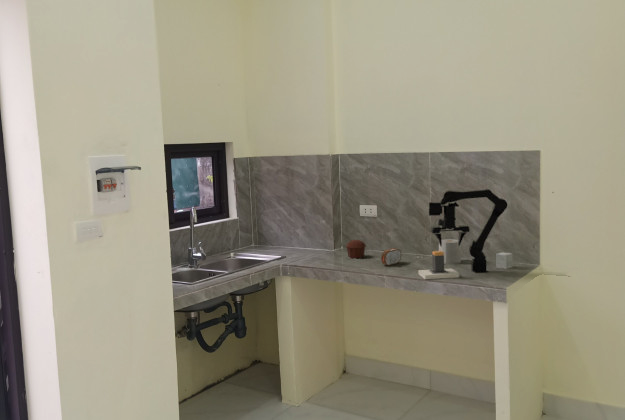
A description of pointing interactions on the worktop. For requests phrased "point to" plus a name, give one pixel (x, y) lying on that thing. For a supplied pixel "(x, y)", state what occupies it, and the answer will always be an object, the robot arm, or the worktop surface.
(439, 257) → the plug
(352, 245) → the muffin
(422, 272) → the socket plate
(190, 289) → the worktop surface
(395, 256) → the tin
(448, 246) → the toilet paper roll
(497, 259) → the product box
